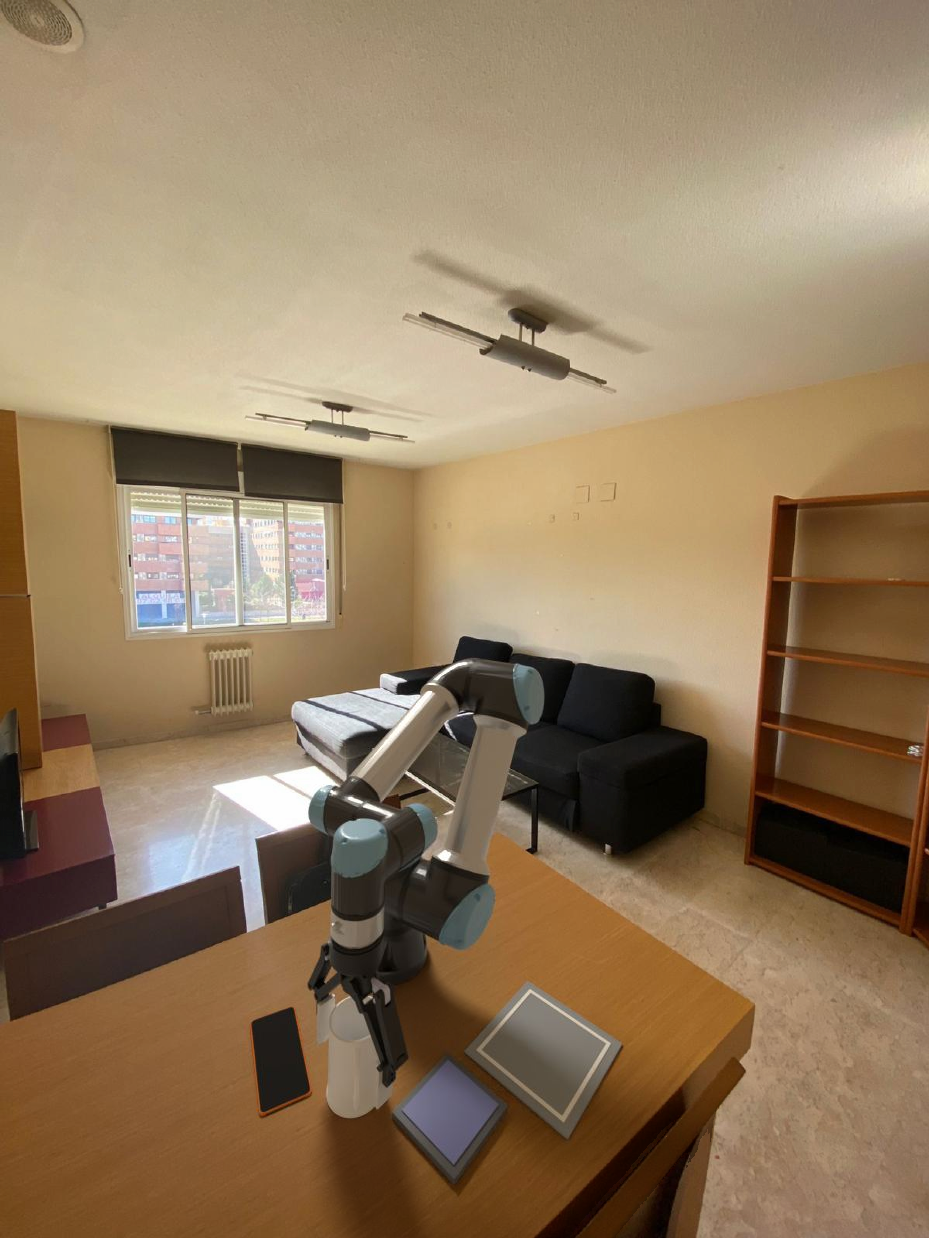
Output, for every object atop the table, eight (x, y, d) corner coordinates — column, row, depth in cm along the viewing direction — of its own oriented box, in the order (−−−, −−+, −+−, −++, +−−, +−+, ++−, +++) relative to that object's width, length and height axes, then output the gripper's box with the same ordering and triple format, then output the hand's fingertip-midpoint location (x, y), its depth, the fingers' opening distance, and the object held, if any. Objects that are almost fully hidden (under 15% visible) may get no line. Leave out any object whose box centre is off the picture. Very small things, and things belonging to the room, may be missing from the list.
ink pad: (391, 1117, 73) (391, 1110, 73) (447, 1057, 82) (447, 1050, 82) (454, 1185, 65) (454, 1177, 65) (507, 1110, 74) (508, 1103, 74)
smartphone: (259, 1120, 72) (259, 1115, 72) (249, 1024, 87) (249, 1020, 87) (313, 1096, 76) (313, 1091, 75) (295, 1008, 90) (295, 1004, 90)
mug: (382, 1140, 70) (384, 1063, 68) (319, 1148, 69) (319, 1069, 67) (384, 1058, 81) (385, 990, 80) (330, 1063, 80) (330, 994, 79)
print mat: (464, 1052, 83) (464, 1050, 83) (527, 982, 97) (527, 980, 97) (567, 1140, 71) (567, 1137, 71) (622, 1044, 85) (622, 1042, 85)
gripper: (286, 904, 77) (283, 1031, 79) (396, 998, 61) (390, 1154, 63) (327, 882, 83) (324, 1001, 85) (438, 963, 67) (431, 1108, 69)
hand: (352, 1067), depth 74 cm, fingers open, 13 cm apart
